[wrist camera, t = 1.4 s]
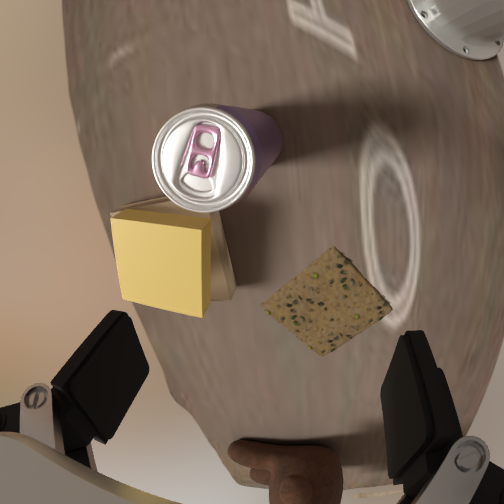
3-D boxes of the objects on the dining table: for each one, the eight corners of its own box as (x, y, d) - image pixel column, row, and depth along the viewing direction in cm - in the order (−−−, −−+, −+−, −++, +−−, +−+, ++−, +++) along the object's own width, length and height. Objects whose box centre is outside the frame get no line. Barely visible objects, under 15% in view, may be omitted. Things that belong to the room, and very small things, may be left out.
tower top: (125, 208, 30) (110, 218, 27) (211, 218, 28) (201, 229, 26) (134, 285, 34) (122, 299, 32) (210, 302, 33) (202, 317, 30)
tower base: (123, 205, 33) (110, 213, 30) (214, 187, 30) (204, 194, 28) (152, 289, 38) (142, 302, 35) (236, 286, 35) (230, 300, 32)
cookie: (332, 241, 31) (333, 244, 30) (393, 307, 33) (395, 311, 32) (258, 302, 36) (257, 307, 35) (321, 355, 38) (321, 360, 37)
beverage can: (290, 119, 26) (273, 118, 13) (273, 175, 29) (241, 231, 15) (231, 104, 26) (159, 94, 13) (217, 159, 29) (141, 200, 16)
